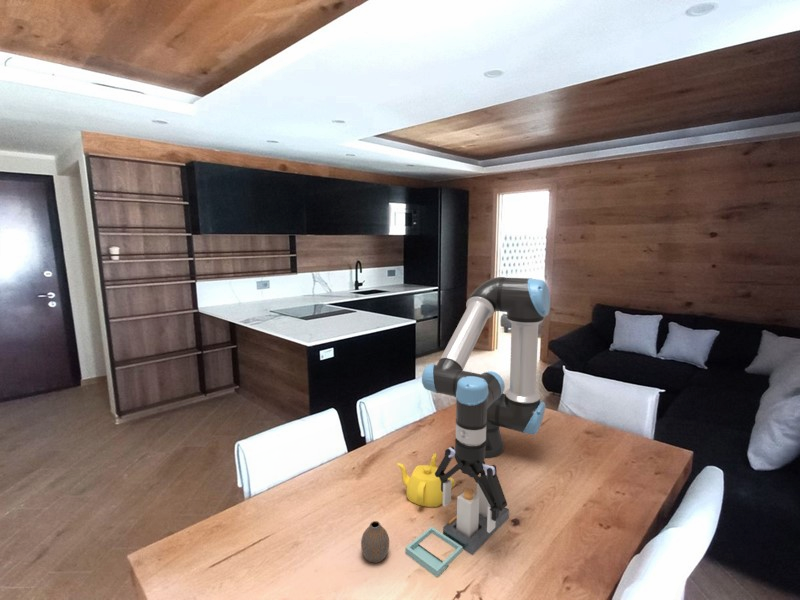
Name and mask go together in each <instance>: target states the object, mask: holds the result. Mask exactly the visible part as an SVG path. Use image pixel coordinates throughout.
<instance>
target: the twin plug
mask: <svg viewBox="0 0 800 600" xmlns="http://www.w3.org/2000/svg"><path fill="white" fill-rule="evenodd" d="M487 479H488V478H487ZM476 495H477V496H479V514H480V515H482V516H484V517H486V518H487V516H488V507H489V506H490V504H489V503H488V501H487V499H486V497H485V495H484V493H483V491H482V490H481V488H480V486H479V484H478V483H476Z"/></svg>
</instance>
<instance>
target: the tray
mask: <svg viewBox="0 0 800 600" xmlns="http://www.w3.org/2000/svg"><path fill="white" fill-rule="evenodd" d="M431 534H433V535H435V536H436V537H437V538H439V539H440V540H442V541H443V542H445V543H446V544H448V545H449V546H450V547H453V548H454V549H455V550H454V551H452V552H451V553H450V554H449V556H447V557H446V558H445V559H444V560H442V559H440V558H439V557H437V556H436V555H435V554H433V553H432V552H430V550H428V549H426V548H425V547H424V546H422V545H421V544H420V543H421V542H422V541H424V540H425V539H426V538H427V537H428V536H429V535H431ZM463 550H464V549H463V547H462V546H461V545H459V544H458V543H456V542H454V541H453V540H451V539H450V538H448V537H447V536H445V535H444V534H443V532H440V531H439V530H437V529H436V528H435V527H433V526H430V527H428V529H426V530H425V531H424V532H423V533H421V534H420V535H419V536H418V537H417V538H415V539H414V540H412V542H410V543H409V544H408V545H406V546H405V550H404V553H405V554H406V555H407V556H408V557H409V558H411V559H412V560H414V561H415V562H416V563H418V564H419V565H420V566H422V567H423V568H424V569H425V570H427V572H429V573H430V574H431V575H434V577H436V578H438V577H440V575H442V573H444V571H446V569H448V568H449V566H450V565H449V564H450V563H452V562H453V560H455V558H456V557H457V556H459V555H460V554H461V553H462V552H463Z"/></svg>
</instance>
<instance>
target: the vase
mask: <svg viewBox="0 0 800 600" xmlns="http://www.w3.org/2000/svg"><path fill="white" fill-rule="evenodd" d="M360 547H361V549H360V550H361V552H362V556H364V558H365V559H366V561H368V562H369V563H374V564H376V563H379V562H381V561H383V560H384V559H385V558H386V557H387V555H388V553H389V550H390V538H389V534H388V531H387V530H386V528H384V527H383V525H381V523H380V522H379V521H378V520H373V521H371V522H370V523H369V526H368V527H367V528H366V529H365V530H364V532H363V533H362V536H361V540H360Z"/></svg>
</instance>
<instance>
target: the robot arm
mask: <svg viewBox="0 0 800 600" xmlns="http://www.w3.org/2000/svg"><path fill="white" fill-rule="evenodd" d="M465 303H466V304H465V305H466V306H465V307H466V309H465V311H464V313H463V314H462V317H461V318H460V320H459V322H458V324H457V327H456V328H455V330H454V332H453V333H452V336H451V337H450V339H449V341H448V342H447V345H446V347H445V349H444V351H443V353H442V354H441V357H440V359H439V360H438V362H437V364H428V365H426V366H425V367H424V369H423V371H422V376H421V383H422V385H423V388H424V389H425V390H426V391H430V392H433V393H436V394H441V395H446V396H451V397H454V398H456V399H455V401H456V406H455V407H456V409H455V441H454V442H455V443H454V446H450V447H448V448H447V449H446V448H445V450H444V457H443V458H442V461H440V463H439V466H438V467H437V468H438V469H437V471H436V472H435V476H436V477H439V478H440V481H441V491H442V492H443V503H442V507H444V508H445V507H446V506H448V505H449V504H450V503H451V502H452V488H451V480H450V479H449V480H448V478H449V477H450V478H452V476H453V475H455V474H456V473H457V472H459V470H460V471H461V473H462V474H464V475H467V476H468V477H470V478H471V479H473V480H474V482H475V483H476V484H477V483H478V484H479V486H480V488H481V490H482V491H483V493H484V495H485V497H486V499H487V501H488V503H489V504H490V506H489V507H488V516H487V532H488V533H490V532H491V531H492V530H493V529H494V528H495V523H496V520H497V519H498V518H499V510H500V511H502V510H503V509H504V508H507V506H508V502H507V499H506V496H505V494H504V491H503V489H502V486H501V483H500V480H499V476H498V472H497V466H496V465H495V464H492V465H488V464H486V461H485V458H495V457H497V456H500V455H501V454H502V453H503V452H504V444H505V443H504V441H503V436H502V433H501V429H500V427H501V428H505V429H508V430H512V431H516V432H520V433H522V434H527V435H536V434H538V432H539V430H540V428H541V426H542V422H543V420H544V416H545V412H546V403H545V402H544V401H541V395H540V393H539V392H538V391H537V390H536V389H537V367H538V366H537V365H538V348H539V347H538V343H539V342H538V341H539V326H540V324H541V323H542V322H543V321H544V319H545V318H544V317H547V316H548V315H549V313H550V310H551V308H550V306H551V295H550V289H549V287H548V284H547V283H546V282H545V281H544V280H543V279H536V278H530V277H528V278H527V277H506V276H505V277H504V276H499V277H493V278H491V279H489V280H487V281H484V282H483V283H481V284H480V285H479V286H478V287H476V288H475V290H473V292H472V293H471V294H470V295H469V297H468V299H467V301H466V302H465ZM495 312H501V313H506V320H507V321H508V322H510V324H511V328H510V335H511V337H510V368H509V371H510V373H509V375H510V376H509V388H507V389H506V390H505V382H504V379H503V377H502V376H501V375H500V374H498V372H495V371H492V370H491V371H484V372H483V373H477V372H472V371H468V370H467V371H466V370H464V368H465V367H466V365H467V362H468V360H469V358H470V357H471V354H472V353H473V351H474V349H475V348H474V347H475V346H476V344H477V342H478V339H479V337H480V336H481V333H482V331H483V329H484V327H485V325H486V323H487V321H488V319H490V318H492V317H493V315H494V313H495ZM504 391H505V392H504ZM453 458H454V459H455V462H456V463H457V464H456V465H454V466H453V467H452V468H451V469H450V470H448V471H447V472H446V473H445V471H446V469H447V468H448V466H449V465H450V463H451V461H452V460H453ZM479 475H480V476H479ZM487 478H488V479H487Z"/></svg>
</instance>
